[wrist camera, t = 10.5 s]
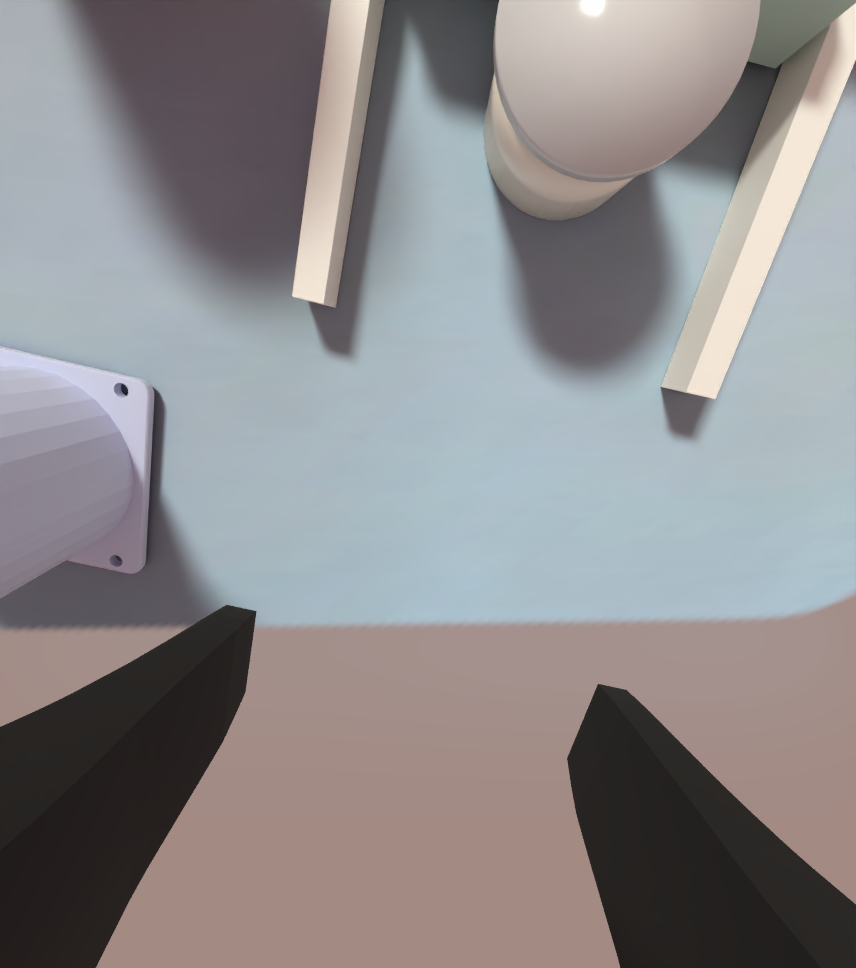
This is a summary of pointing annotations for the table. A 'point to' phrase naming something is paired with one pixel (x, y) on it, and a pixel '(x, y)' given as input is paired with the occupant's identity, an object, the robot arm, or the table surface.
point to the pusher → (791, 27)
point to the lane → (741, 240)
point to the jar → (604, 92)
